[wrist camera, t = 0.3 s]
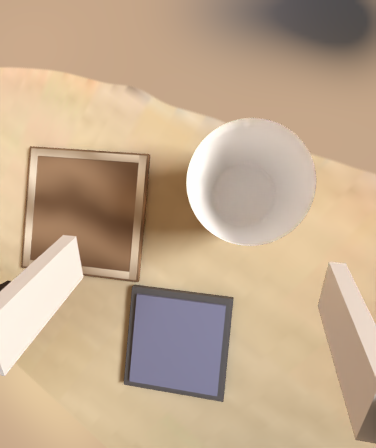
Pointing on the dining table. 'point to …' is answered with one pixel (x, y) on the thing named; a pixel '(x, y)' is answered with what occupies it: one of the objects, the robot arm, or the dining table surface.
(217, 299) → the ink pad
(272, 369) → the dining table surface
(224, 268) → the dining table surface
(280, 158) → the cup
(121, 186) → the marked board
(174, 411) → the dining table surface
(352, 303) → the robot arm
